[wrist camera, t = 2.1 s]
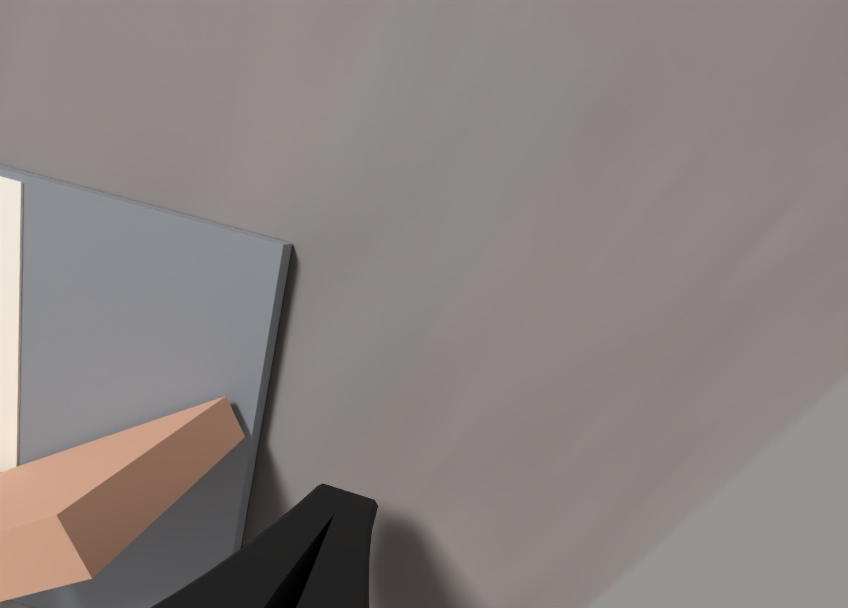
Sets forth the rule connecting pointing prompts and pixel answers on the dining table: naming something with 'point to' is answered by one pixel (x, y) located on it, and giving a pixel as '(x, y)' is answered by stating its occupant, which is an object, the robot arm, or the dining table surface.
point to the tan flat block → (102, 496)
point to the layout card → (133, 357)
